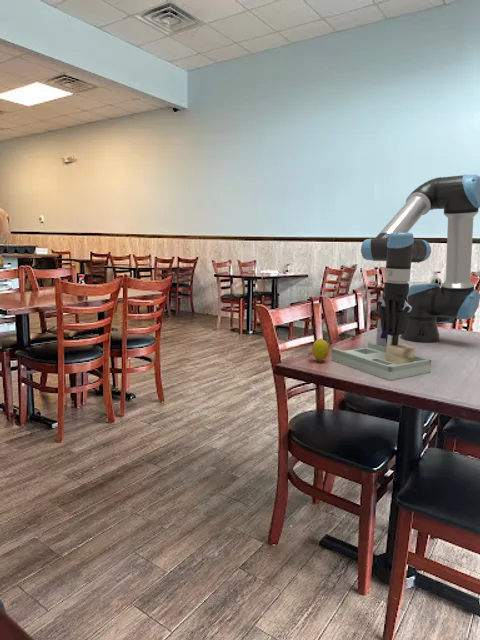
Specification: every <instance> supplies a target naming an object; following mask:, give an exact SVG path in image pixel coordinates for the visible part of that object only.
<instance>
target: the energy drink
mask: <svg viewBox="0 0 480 640" xmlns="http://www.w3.org/2000/svg"><path fill="white" fill-rule="evenodd" d="M376 326H377V327H376V338H375V339H376V340H375V344H376V345H379V346H383V347H386V348H387V343H386V332H384V331H382V329H381V319H380V318H378V320H377V325H376Z"/></svg>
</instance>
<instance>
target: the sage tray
mask: <svg viewBox="0 0 480 640" xmlns="http://www.w3.org/2000/svg"><path fill="white" fill-rule="evenodd" d="M330 357H331V358H330V360H331V361H334V362H336V361H337V363H340V364H343V365H345V366H348V367H350V366H351V367H350V368H353V369H357V370H359V371H362V372H364V373H367V374H370V375H373V376H377V377H378V378H382V379H385V380H388V381H395V380H399V379H403V378H408V377H413V376H418V375H423V374H428V373H431V371H432V370H431V367H432V359H429V358H425V357H422V356H419V355H415V354H414V362H410V363H405V364H399V365H398V364H395V363H391V362H388V361H386V347H383V346H379V345H376V343H372V342H369V343H367V346H366V347H361V348H354V349H347V350H341V349H338V348H335V347H332V348H331V355H330Z"/></svg>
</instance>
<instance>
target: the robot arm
mask: <svg viewBox="0 0 480 640" xmlns="http://www.w3.org/2000/svg"><path fill="white" fill-rule="evenodd" d="M479 209H480V175H477V174H463V175H452V176H443V177H441V176H440V177H434V178H431V179H429V180H428V181H426V182H424V183H422V184H421V185H419V186H418V187H416V188H415V189H414V190H413V191H412V192H411V193H410V194H409V195H408V196H407V197H406V200H405V204H404V205H403V206H402V207H401V208H400V209H399V210H398V212H396V213H395V215H394V216H393V217H392V219H390V221H389V222H388V223H387V224H386V226H384V227H383V229H382V230H381V231H380V232H379V233H378V234H377V235H376V237H375V238H367V239H365V240H363V241H362V243H361V247H360V253H361V256H362V259H364V260H366V261H373V262H385V273H384V280H385V282H384V284H383V294H384V297H383V300H381V301H377V307H378V309H379V317H380V318H379V319H381V329H382V331H384V332H386V343H387V345H398V344H399V336H400V338H401V339H403V340H406V341H411V342H417V343H419V342H420V343H437V342H438V341H440V333H439V328H438V323H437V317H440V318H442V317H443V318H450V319H456V320H470V319H471V318H473V317H474V315H475V314H476V312H477V310H478V307H479V304H480V291H479V290H477V289H475V283H473V282H472V280H471V273H472V254H473V253H472V252H473V236H474V235H473V234H474V231H473V230H474V217H475V216H476V215H478V213H479ZM433 210H443V215H444V216H445V217H446V218H447V236H446V237H447V238H446V239H447V240H446V262H445V263H446V265H445V266H446V267H445V268H446V269H445V280H444V281H443V282H442V283H441V286H440V284H439V283H421V284H413V285H410V284H409V283H408V282H410V281H411V271H412V270H411V268H412V263H417V264H419V263H423V262H425V261H426V260H428V259H429V258H430V256H431V253H432V247H431V245H430V243H429V242H428V241H426V240H425V239H422V238H417V239H416V238H414V234H413V233H412V232H410V230H411V229H412V228H413V227H414V226H415V224H416V223H417V222H418V221H419V219H420V218H421V217H422V216H424V215H427V214H428V213H429V212H430V211H433Z"/></svg>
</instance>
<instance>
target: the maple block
mask: <svg viewBox="0 0 480 640" xmlns="http://www.w3.org/2000/svg"><path fill="white" fill-rule="evenodd" d="M415 352H416V347H414V346H410V345H407V344H403V343H398V345H387V348H386V361H388V362H391V363H395V364H398V365H399V364H405V363H410V362H414V355H415V354H416V353H415Z"/></svg>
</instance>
